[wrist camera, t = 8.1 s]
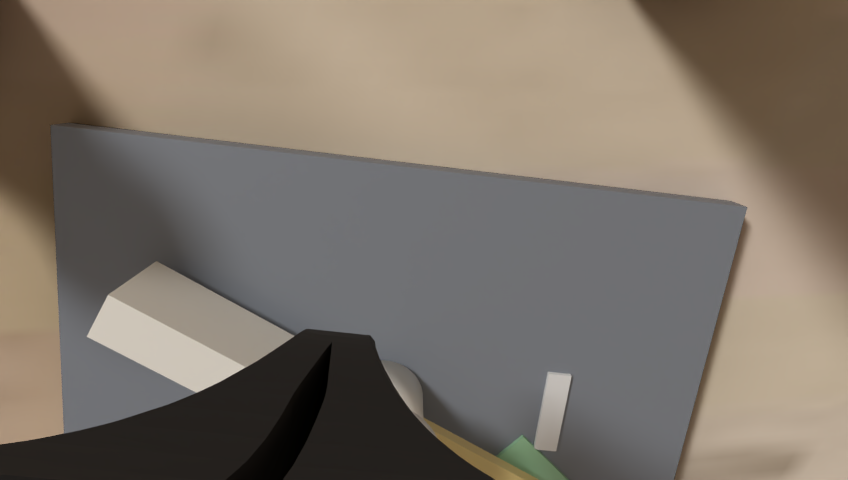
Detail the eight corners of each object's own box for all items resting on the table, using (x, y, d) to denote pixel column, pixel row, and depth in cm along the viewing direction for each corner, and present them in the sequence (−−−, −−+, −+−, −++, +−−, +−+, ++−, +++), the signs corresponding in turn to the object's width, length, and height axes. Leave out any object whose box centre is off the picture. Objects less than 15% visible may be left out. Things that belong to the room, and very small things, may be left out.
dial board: (621, 620, 24) (631, 646, 23) (85, 576, 23) (68, 601, 22) (730, 201, 20) (749, 208, 19) (69, 122, 19) (47, 125, 18)
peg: (564, 439, 21) (600, 523, 17) (505, 516, 22) (526, 614, 18) (179, 225, 19) (115, 264, 15) (129, 320, 19) (56, 382, 15)
